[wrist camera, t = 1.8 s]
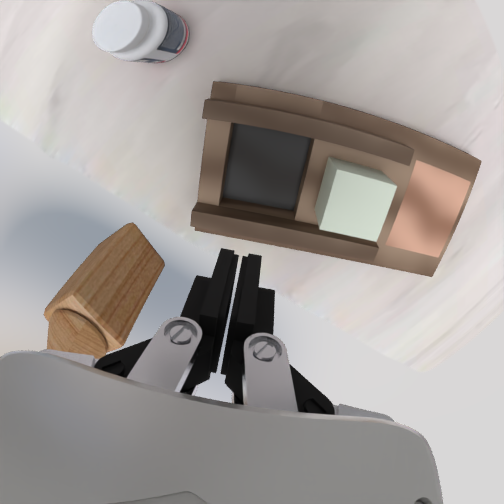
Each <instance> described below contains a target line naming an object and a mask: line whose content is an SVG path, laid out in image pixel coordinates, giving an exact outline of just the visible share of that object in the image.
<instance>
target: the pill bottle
mask: <svg viewBox="0 0 504 504" xmlns="http://www.w3.org/2000/svg"><path fill="white" fill-rule="evenodd" d="M92 37H93V40H94V43H95V44H96V46H97V47H98V48H100V49H101V50H103V51H107V52H110V53H111V54H112V55H113V56H114V57H116V58H118V59H121V60H124V61H133V62H148V63H162V62H166V61H169V60H171V59H173V58H175V57H176V56H177V55H179V54H180V53H181V52H182V50H183V49H184V48H185V46H186V44H187V42H188V38H189V30H188V26H187V24H186V22H185V20H184V19H183V18H182V17H180V16H179V15H177V14H176V13H174V12H172V11H170V10H168V9H166V8H165V7H163V6H161V5H159V4H157V3H155V2H152V1H149V0H135V1H127V0H121V1H117V2H114V3H112V4H110V5H108V6H107V7H105V8H104V9H103V10H102V11H101V12H100V13H99V15H98V16H97V18H96V20H95V22H94V24H93V29H92Z"/></svg>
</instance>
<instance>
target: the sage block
mask: <svg viewBox="0 0 504 504" xmlns="http://www.w3.org/2000/svg"><path fill="white" fill-rule="evenodd" d="M396 188H397V185H396V184H395V183H394V182H393V181H392V180H391V179H390V178H388V177H387V176H386V175H385V174H384V173H383V172H382V171H380V170H377V169H374V168H370V167H367V166H363V165H360V164H356V163H352V162H349V161H345V160H341V159H337V158H333V157H328V161H327V165H326V169H325V172H324V176H323V180H322V183H321V187H320V191H319V194H318V198H317V202H316V205H315V213H316V217H317V221H318V225H319V229H320V230H325V231H330V232H335V233H339V234H344V235H348V236H353V237H357V238H362V239H366V240H371V241H375V242H377V239H378V237H379V234H380V232H381V229H382V226H383V224H384V221H385V219H386V216H387V213H388V211H389V208H390V205H391V202H392V200H393V197H394V194H395V191H396Z"/></svg>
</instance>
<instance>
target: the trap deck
mask: <svg viewBox="0 0 504 504" xmlns="http://www.w3.org/2000/svg"><path fill="white" fill-rule="evenodd" d="M202 118H203V119H207V125H206V132H205V140H204V148H203V156H202V164H201V173H200V181H199V191H198V200H197V203H196V205H195V206H194V208H193V210H192V214H191V226H192V227H195V231H200V232H206V233H211V234H217V235H222V236H227V237H233V238H238V239H243V240H248V241H254V242H259V243H264V244H269V245H275V246H280V247H285V248H290V249H295V250H300V251H305V252H311V253H316V254H321V255H326V256H331V257H336V258H341V259H346V260H351V261H356V262H361V263H366V264H371V265H376V266H381V267H386V268H391V269H396V270H401V271H406V272H410V273H415V274H420V275H425V276H430V277H432V276H433V274H434V272H435V270H436V268H437V266H438V265H439V263H440V261H441V259H442V257H443V255H444V253H445V251H446V248H447V246H448V244H449V242H450V240H451V238H452V236H453V233H454V231H455V229H456V227H457V225H458V222H459V220H460V218H461V215H462V213H463V210H464V208H465V205H466V203H467V200H468V198H469V195H470V193H471V190H472V187H473V185H474V182H475V179H476V176H477V173H478V171H479V168H480V165H481V162H482V161H481V160H479V159H477V158H475V157H473V156H471V155H469V154H467V153H465V152H463V151H461V150H459V149H457V148H455V147H453V146H451V145H448V144H446V143H444V142H442V141H439V140H437V139H435V138H432V137H430V136H428V135H425V134H423V133H420V132H418V131H415V130H413V129H410V128H407V127H405V126H402V125H399V124H397V123H394V122H391V121H388V120H385V119H383V118H380V117H377V116H374V115H370V114H367V113H364V112H361V111H358V110H354V109H351V108H348V107H344V106H340V105H337V104H333V103H329V102H326V101H322V100H318V99H314V98H309V97H305V96H301V95H296V94H291V93H287V92H282V91H277V90H271V89H266V88H260V87H254V86H248V85H241V84H234V83H226V82H216V81H213V85H212V91H211V98H210V99H206V100H205V102H204V109H203V116H202ZM328 157H333V158H337V159H341V160H345V161H349V162H352V163H356V164H360V165H363V166H367V167H370V168H374V169H377V170H380V171H382V172H383V173H384V174H385V175H386V176H387V177H388V178H390V179H391V180H392V181H393V182H394V183H395V184H396V185H397V188H396V191H395V194H394V197H393V200H392V202H391V205H390V208H389V211H388V213H387V216H386V219H385V221H384V224H383V226H382V229H381V232H380V234H379V237H378V239H377V242H375V241H371V240H366V239H362V238H357V237H353V236H348V235H344V234H339V233H335V232H330V231H325V230H320V229H319V225H318V221H317V217H316V213H315V205H316V202H317V198H318V194H319V191H320V187H321V183H322V180H323V176H324V172H325V169H326V165H327V161H328Z"/></svg>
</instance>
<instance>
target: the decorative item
mask: <svg viewBox="0 0 504 504" xmlns="http://www.w3.org/2000/svg"><path fill="white" fill-rule="evenodd" d="M164 266H165V264H164V261H163V259H162V258H161V257H160V255H159V254H158V253H157V252H156V250H155V249H154V248H153V247H152V245H151V244H150V243H149V241H148V240H147V239H146V238H145V236H144V235H143V234H142V232H141V231H140V230H139V229H138V227H137V226H136V225H135V224H134V223H129V224H126V225H125V226H123V227H122V228H121V229H119V230H118V231H117V232H115V233H114V234H112V235H111V236H109V237H108V238H107V239H105V240H104V241H103V242H101V243H100V244H99V245H98V246H97V247H96V248H95V249H94V250H93V252H92V253H91V254H90V255H89V256H88V257H87V258H86V260H85V261H84V262H83V263H82V264H81V265H80V267H79V268H78V269H77V270H76V271H75V272H74V274H73V275H72V276H71V277H70V278H69V280H68V281H67V282H66V283H65V285H64V286H63V287H62V288H61V289H60V291H59V292H58V293H57V295H56V296H55V297H54V298H53V299H52V301H51V302H50V303H49V305H48V306H47V307H46V308H45V312H44V316H45V318H46V319H47V320H48V321H49V328H48V340H47V349H51V350H57V351H64V352H71V353H78V354H85V355H93V356H94V358H95V359H100V358H101V357H103V356H105V355H106V353H107V352H109V351H113V350H115V349H118V348H120V347H122V346H123V345H124V343H125V342H126V339H127V338H128V335H129V333H130V331H131V329H132V327H133V325H134V323H135V321H136V319H137V317H138V315H139V313H140V311H141V309H142V308H143V306H144V304H145V302H146V300H147V298H148V296H149V294H150V292H151V290H152V288H153V287H154V285H155V283H156V281H157V279H158V277H159V275H160V273H161V272H162V270H163V268H164Z"/></svg>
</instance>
